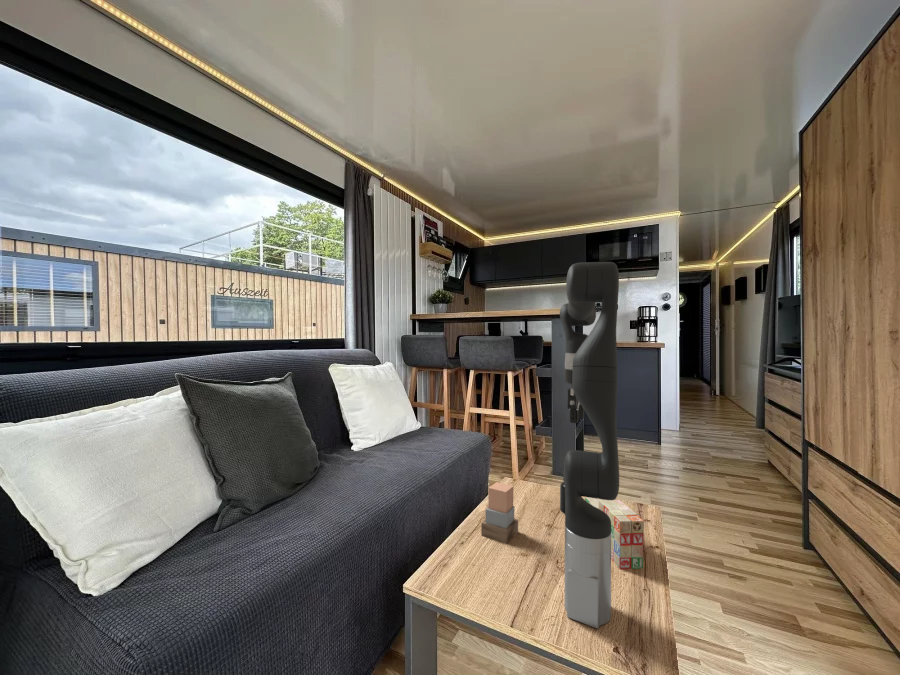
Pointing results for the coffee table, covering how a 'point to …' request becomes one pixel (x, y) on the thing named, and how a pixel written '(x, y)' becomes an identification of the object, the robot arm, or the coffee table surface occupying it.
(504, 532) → the tower base block
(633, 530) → the stack of blocks
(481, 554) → the coffee table surface
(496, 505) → the terracotta block
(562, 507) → the supplement bottle
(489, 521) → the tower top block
